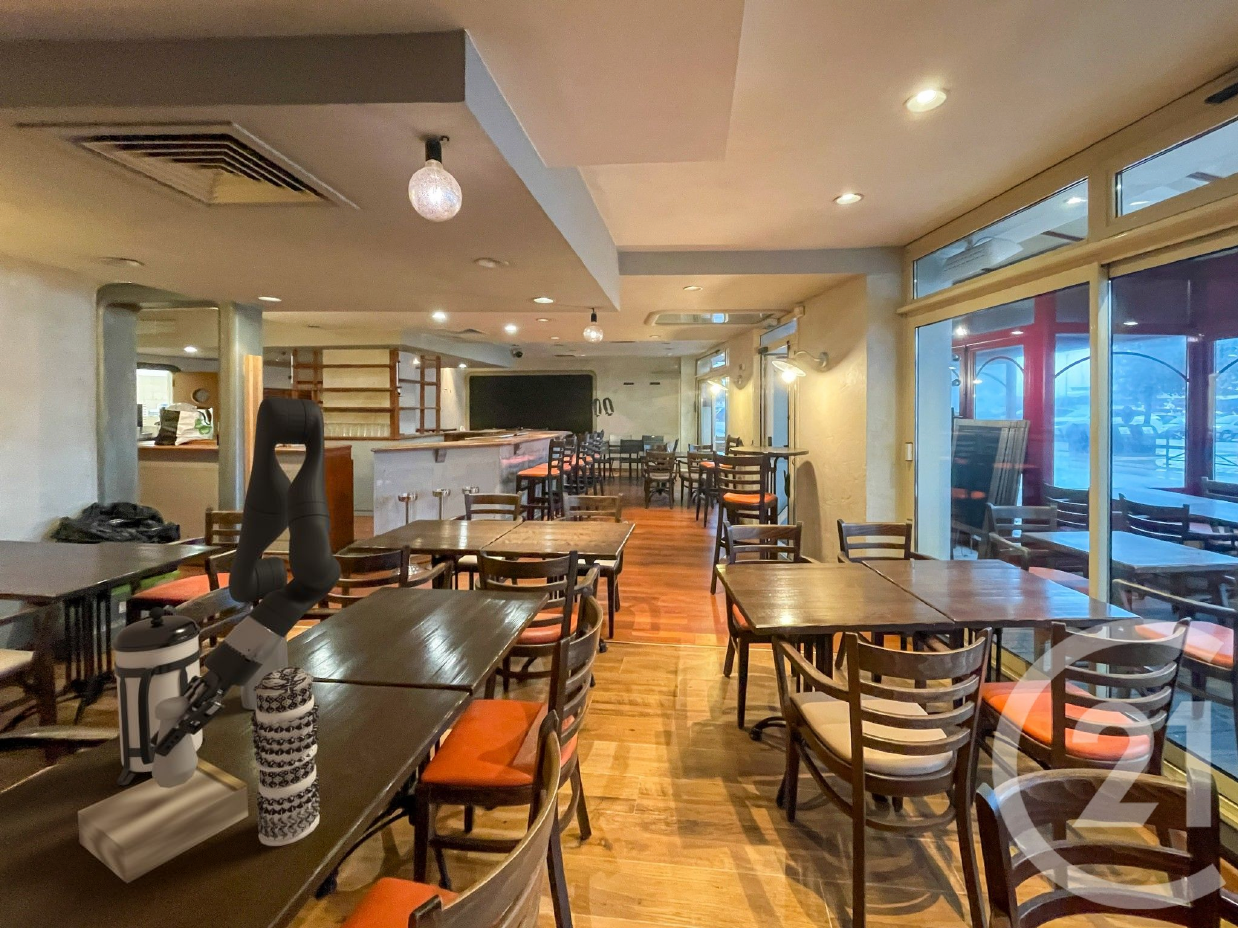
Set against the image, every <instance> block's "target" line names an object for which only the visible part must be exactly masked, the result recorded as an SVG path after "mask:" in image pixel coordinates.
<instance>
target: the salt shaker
mask: <svg viewBox="0 0 1238 928" xmlns="http://www.w3.org/2000/svg"><path fill="white" fill-rule="evenodd" d="M188 702H189V701H188V699H187V698H186V697H183V696H178V697H172V698H168V699H165V700H163V701H161V702H160V703H159V704H158V705H157V706H156V707H155V717H156V719H158V720H160V727H159V733H158V739H157V744H158V742H159V741H160V740H161V739H162V738H163V737H164V736H165V735H166V734H167V733H168V732H169V731H170V730H171V728H172V727H173V726H174V725H175V723H176V722H177V721H178V720H179V718H180V717H181V716H182V715H183V714H184V709H185V707H186V705H187V704H188ZM198 757H199V756H198V755H197V751H196V750H195V747H194V744H193V740H192V737H191V734H189V735H187V734H186V735H185V736H184V737H183V739H182V740H181V741H180V742H179V743H178V744H176V745H175V747H173V749H172V750H171V751H170V752H169V754H168V755H167V756H165V757H163V756H161V755H158V754H156V753H155V757H154V762H153V768H152V771H151V775H152V778H154V780H155V781H156V782H157V784H158V785H159V786H160V787H164V788H172V787H175V786H178V785H181V784H184V783H186V782H187V781H188V780H189V779H190V778H191V777H193V774H194V772H195V769H196V767H197V764H198Z"/></svg>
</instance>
